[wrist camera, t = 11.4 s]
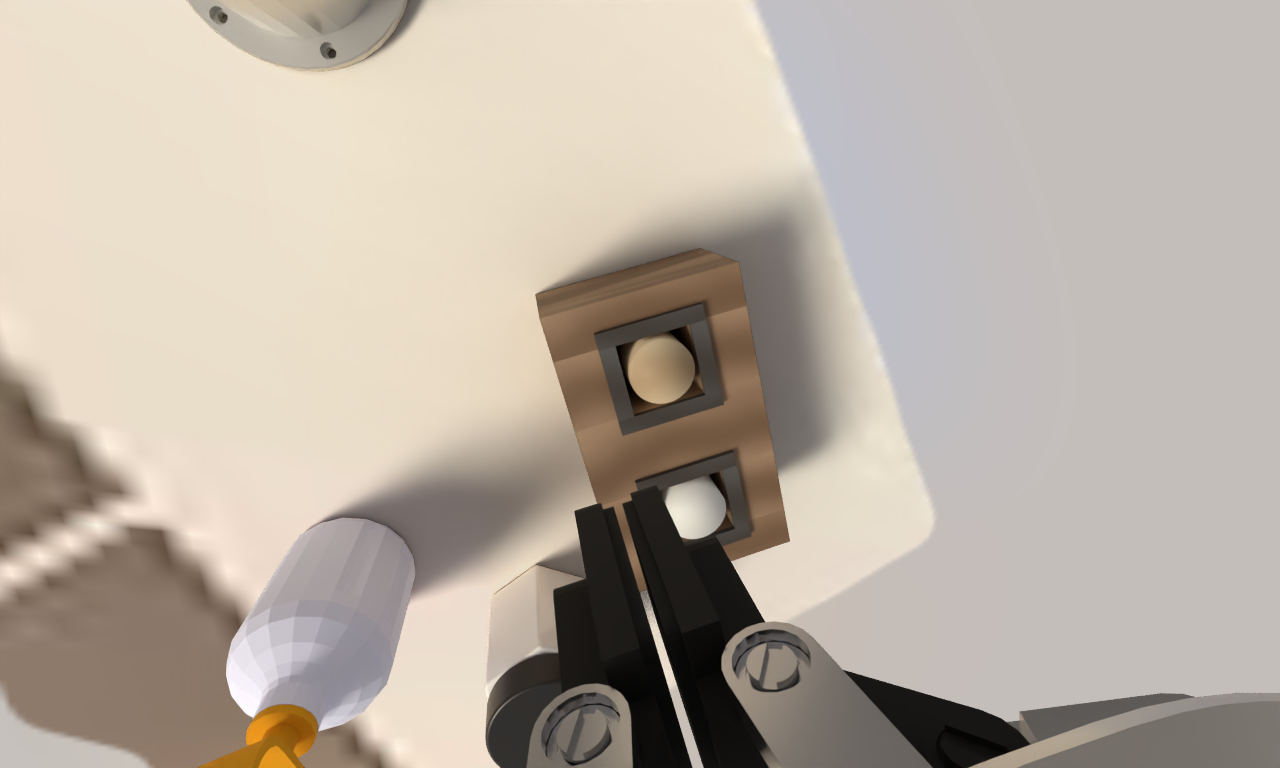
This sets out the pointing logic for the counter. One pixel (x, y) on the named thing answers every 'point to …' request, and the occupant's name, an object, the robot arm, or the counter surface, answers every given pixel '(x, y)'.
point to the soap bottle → (318, 639)
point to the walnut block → (682, 429)
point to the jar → (521, 662)
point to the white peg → (695, 507)
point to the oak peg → (657, 367)
